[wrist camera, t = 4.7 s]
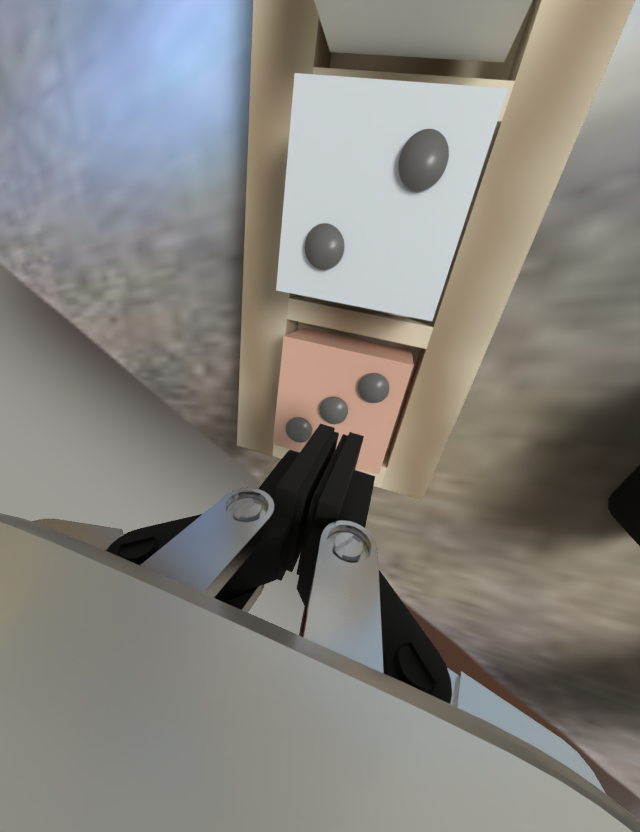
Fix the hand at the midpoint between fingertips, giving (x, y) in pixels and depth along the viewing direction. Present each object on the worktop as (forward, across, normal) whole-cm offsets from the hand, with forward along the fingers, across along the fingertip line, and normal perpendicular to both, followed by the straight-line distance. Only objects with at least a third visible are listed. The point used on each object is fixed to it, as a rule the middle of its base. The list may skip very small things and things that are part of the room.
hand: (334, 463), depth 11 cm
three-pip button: (+7, +1, 0) cm, 7 cm away
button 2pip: (+5, +1, -8) cm, 10 cm away
